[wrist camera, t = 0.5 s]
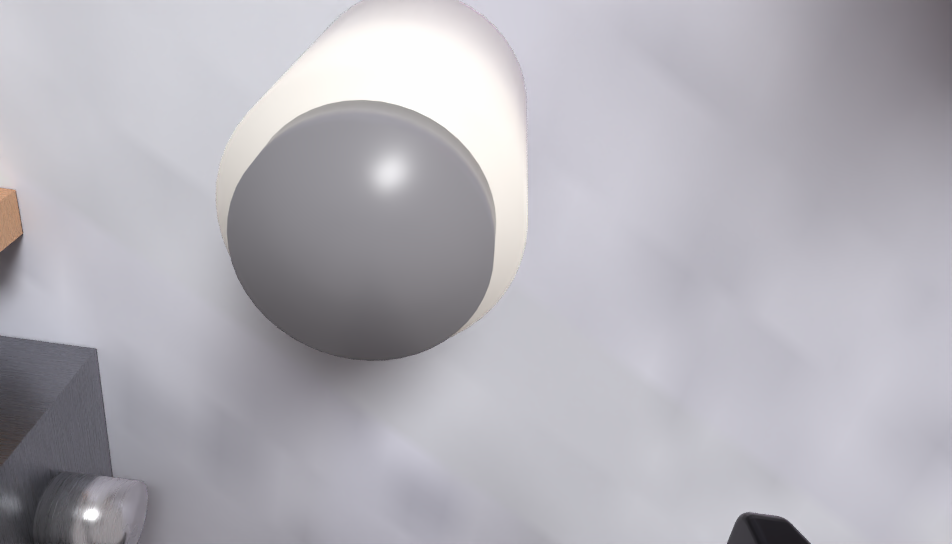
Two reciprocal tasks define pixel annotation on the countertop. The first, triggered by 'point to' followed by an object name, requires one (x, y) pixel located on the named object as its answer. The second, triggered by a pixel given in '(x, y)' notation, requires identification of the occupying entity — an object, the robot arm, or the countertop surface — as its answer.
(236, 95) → the countertop surface
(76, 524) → the grey angular piece
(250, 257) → the white rounded cylinder
